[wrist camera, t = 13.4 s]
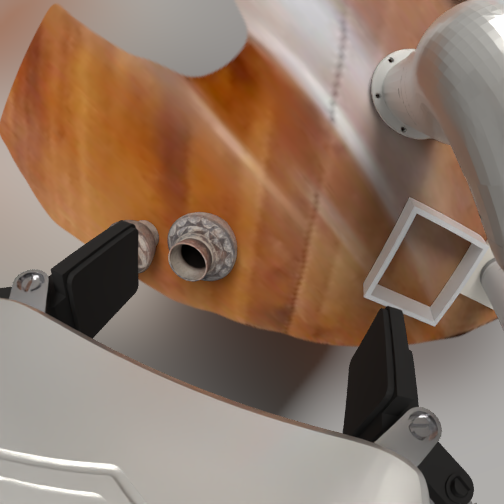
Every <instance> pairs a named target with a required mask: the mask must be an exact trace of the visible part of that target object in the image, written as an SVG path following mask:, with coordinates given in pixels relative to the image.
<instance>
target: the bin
mask: <svg viewBox="0 0 504 504" xmlns="http://www.w3.org/2000/svg"><path fill="white" fill-rule="evenodd" d="M416 214H419V215H421V216H423V217H425V218H427V219H429V220H431V221H432V222H434V223H436V224H438V225H440V226H442V227H444V228H446V229H448V230H449V231H451V232H453V233H455V234H457V235H459V236H460V237H462V238H464V239H466V240H468V241H469V242H471V245H470V247H469V249H468V250H467V252H466V254H465V255H464V257H463V258H462V260H461V262H460V263H459V265H458V266H457V268H456V270H455V271H454V273H453V274H452V276H451V277H450V279H449V280H448V282H447V283H446V285H445V286H444V288H443V289H442V291H441V292H440V294H439V295H438V297H437V298H436V299H435V301H434V302H433V304H432V305H431V306H430V307H429V306H427V305H424V304H422V303H420V302H417V301H415V300H413V299H411V298H408V297H406V296H404V295H401V294H399V293H397V292H394V291H392V290H390V289H387V288H385V287H383V286H381V285H378V282H379V280H380V279H381V277H382V275H383V274H384V272H385V270H386V269H387V267H388V265H389V263H390V262H391V260H392V258H393V256H394V255H395V253H396V251H397V249H398V248H399V246H400V244H401V242H402V240H403V239H404V237H405V235H406V233H407V231H408V229H409V227H410V225H411V224H412V222H413V220H414V218H415V216H416ZM488 248H489V246H488V245H487V243H486V242H485V241H484V239H483V238H482V237H481V235H479V234H477V233H476V232H474V231H472V230H470V229H469V228H467V227H465V226H463V225H462V224H460V223H458V222H456V221H455V220H453V219H451V218H449V217H447V216H445V215H444V214H442V213H440V212H438V211H436V210H434V209H432V208H430V207H428V206H427V205H425V204H423V203H421V202H419V201H417V200H415V199H413V198H411V197H409V199H408V201H407V203H406V205H405V207H404V209H403V211H402V213H401V215H400V217H399V219H398V221H397V223H396V225H395V227H394V229H393V230H392V232H391V234H390V236H389V238H388V240H387V242H386V244H385V245H384V247H383V249H382V251H381V253H380V255H379V256H378V258H377V260H376V262H375V264H374V265H373V267H372V269H371V271H370V272H369V274H368V276H367V278H366V279H365V281H364V283H363V287H364V297H365V298H367V299H370V300H372V301H374V302H377V303H379V304H382V305H384V306H386V307H387V306H390V307H394V308H397V309H400V310H402V312H403V314H406V315H408V316H410V317H413V318H415V319H418V320H420V321H422V322H425V323H427V324H430V325H432V326H434V327H435V326H436V324H437V323H438V322H439V321H440V319H441V318H442V317H443V315H444V314H445V313H446V311H447V310H448V309H449V307H450V306H451V304H452V303H453V302H454V300H455V299H456V298H457V296H458V295H459V293H460V292H461V290H462V289H463V287H464V286H465V285H466V283H467V282H468V280H469V279H470V277H471V276H472V274H473V272H474V271H475V269H476V268H477V266H478V265H479V263H480V261H481V260H482V258H483V257H484V255H485V253H486V252H487V250H488Z"/></svg>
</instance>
